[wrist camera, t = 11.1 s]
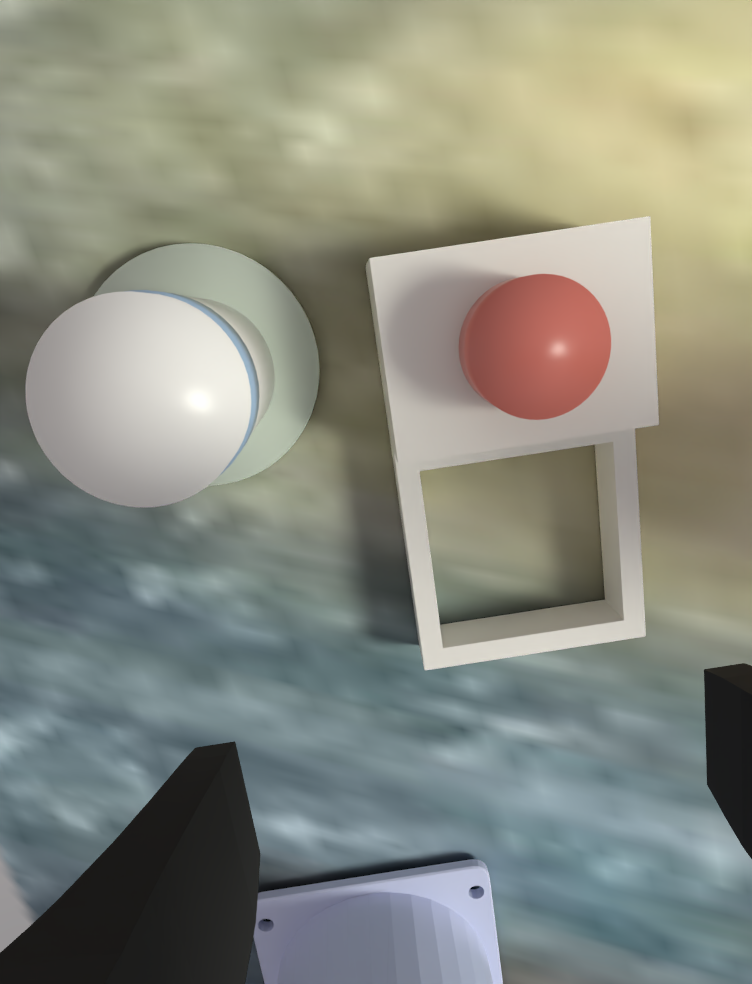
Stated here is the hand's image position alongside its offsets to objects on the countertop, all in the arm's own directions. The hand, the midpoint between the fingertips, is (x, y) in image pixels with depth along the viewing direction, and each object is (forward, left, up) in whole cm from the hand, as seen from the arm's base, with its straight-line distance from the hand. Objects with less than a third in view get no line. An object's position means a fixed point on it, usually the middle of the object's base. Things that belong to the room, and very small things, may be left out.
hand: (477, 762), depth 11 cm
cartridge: (+6, +5, -10) cm, 13 cm away
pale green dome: (+6, +5, -10) cm, 13 cm away
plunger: (+5, -3, -9) cm, 11 cm away
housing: (+2, -3, -10) cm, 11 cm away
